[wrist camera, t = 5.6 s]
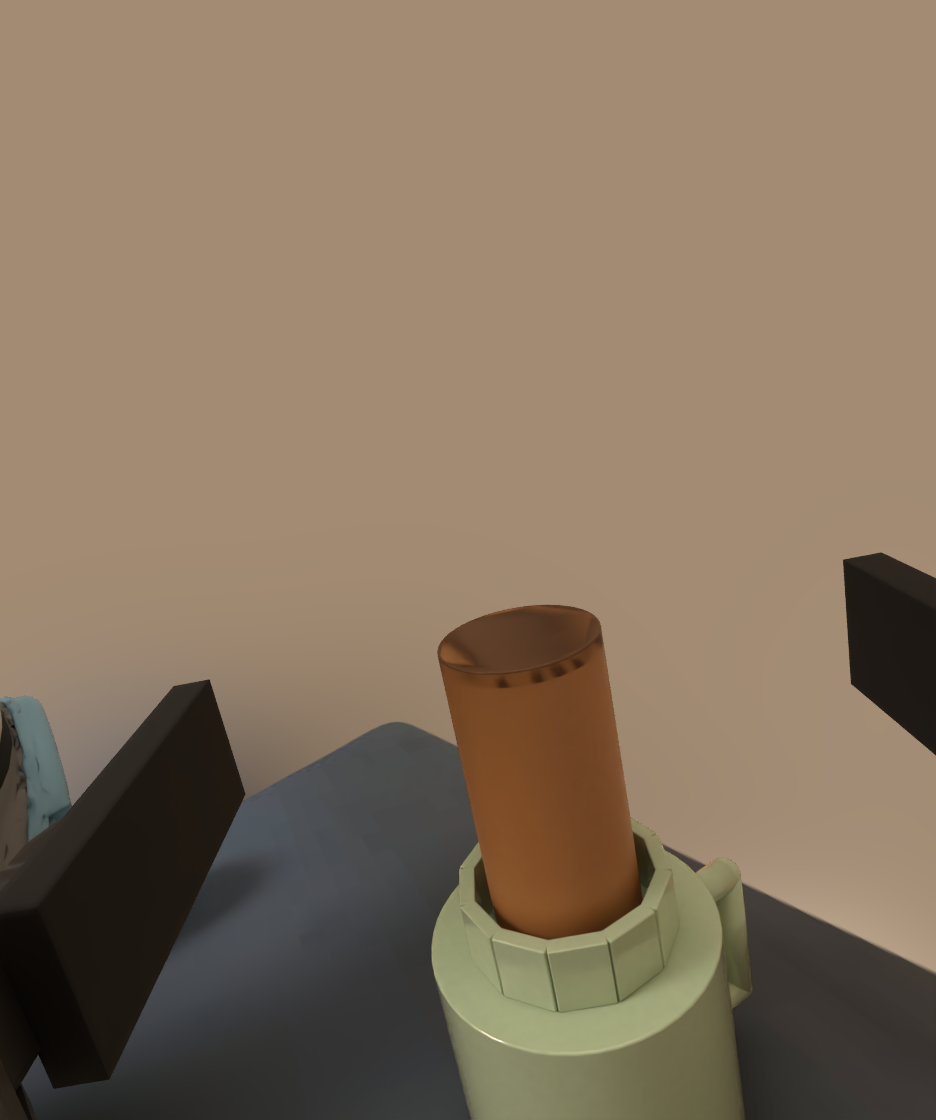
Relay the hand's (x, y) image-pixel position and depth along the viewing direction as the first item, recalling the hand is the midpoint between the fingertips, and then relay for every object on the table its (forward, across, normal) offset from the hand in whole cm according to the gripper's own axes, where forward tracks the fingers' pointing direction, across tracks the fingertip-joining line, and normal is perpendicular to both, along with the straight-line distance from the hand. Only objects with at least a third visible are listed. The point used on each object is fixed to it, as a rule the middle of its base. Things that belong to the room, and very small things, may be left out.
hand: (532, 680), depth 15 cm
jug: (+11, +1, -27) cm, 29 cm away
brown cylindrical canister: (+10, 0, -15) cm, 18 cm away
